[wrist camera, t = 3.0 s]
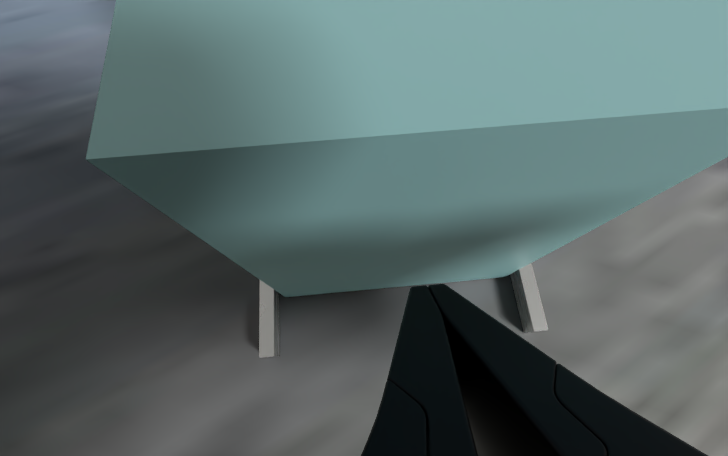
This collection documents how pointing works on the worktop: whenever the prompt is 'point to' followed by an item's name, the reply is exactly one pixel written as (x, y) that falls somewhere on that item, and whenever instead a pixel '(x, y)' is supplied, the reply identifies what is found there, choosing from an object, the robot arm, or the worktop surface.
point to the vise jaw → (406, 127)
